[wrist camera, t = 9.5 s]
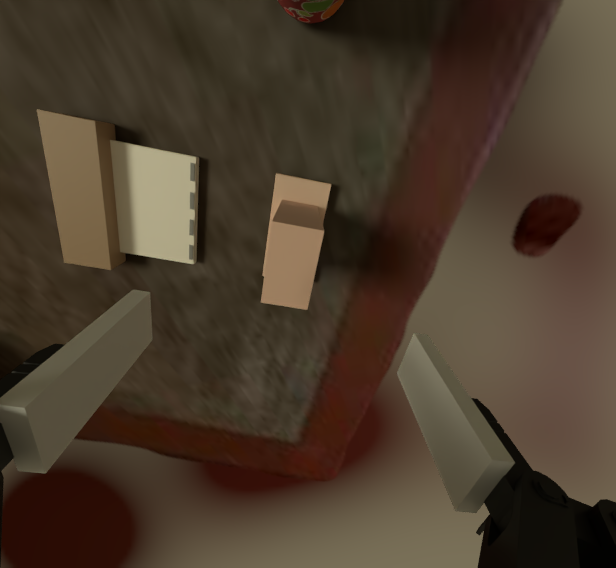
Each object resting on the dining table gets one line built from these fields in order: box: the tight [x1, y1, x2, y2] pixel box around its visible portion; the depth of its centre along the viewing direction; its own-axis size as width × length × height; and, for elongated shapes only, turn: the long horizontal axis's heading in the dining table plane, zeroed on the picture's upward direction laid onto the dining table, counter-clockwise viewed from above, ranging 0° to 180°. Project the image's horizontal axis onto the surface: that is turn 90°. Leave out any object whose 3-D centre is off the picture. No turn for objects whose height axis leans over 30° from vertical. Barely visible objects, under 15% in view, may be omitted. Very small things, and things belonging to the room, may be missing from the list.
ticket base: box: [37, 109, 199, 270], centre depth 31 cm, size 14×15×3 cm
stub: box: [261, 173, 331, 310], centre depth 28 cm, size 6×12×12 cm, turn 169°
